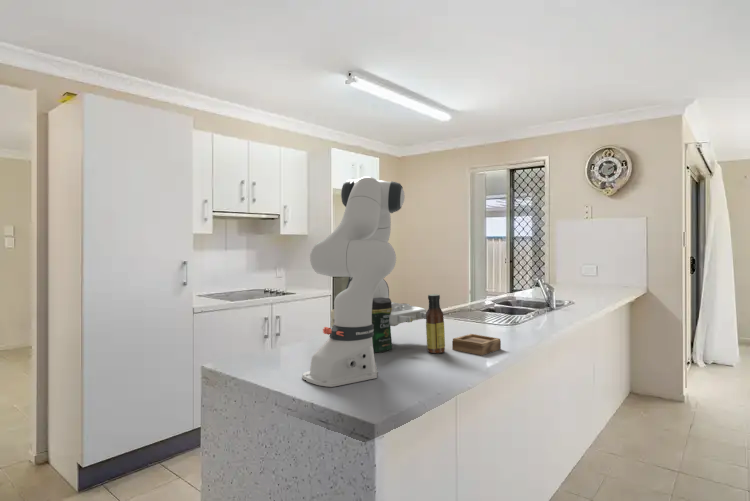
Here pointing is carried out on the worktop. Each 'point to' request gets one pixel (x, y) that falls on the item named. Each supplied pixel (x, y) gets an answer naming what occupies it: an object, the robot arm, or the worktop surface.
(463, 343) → the tray
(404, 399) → the worktop surface
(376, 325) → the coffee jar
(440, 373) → the worktop surface
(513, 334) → the worktop surface
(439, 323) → the sauce bottle
